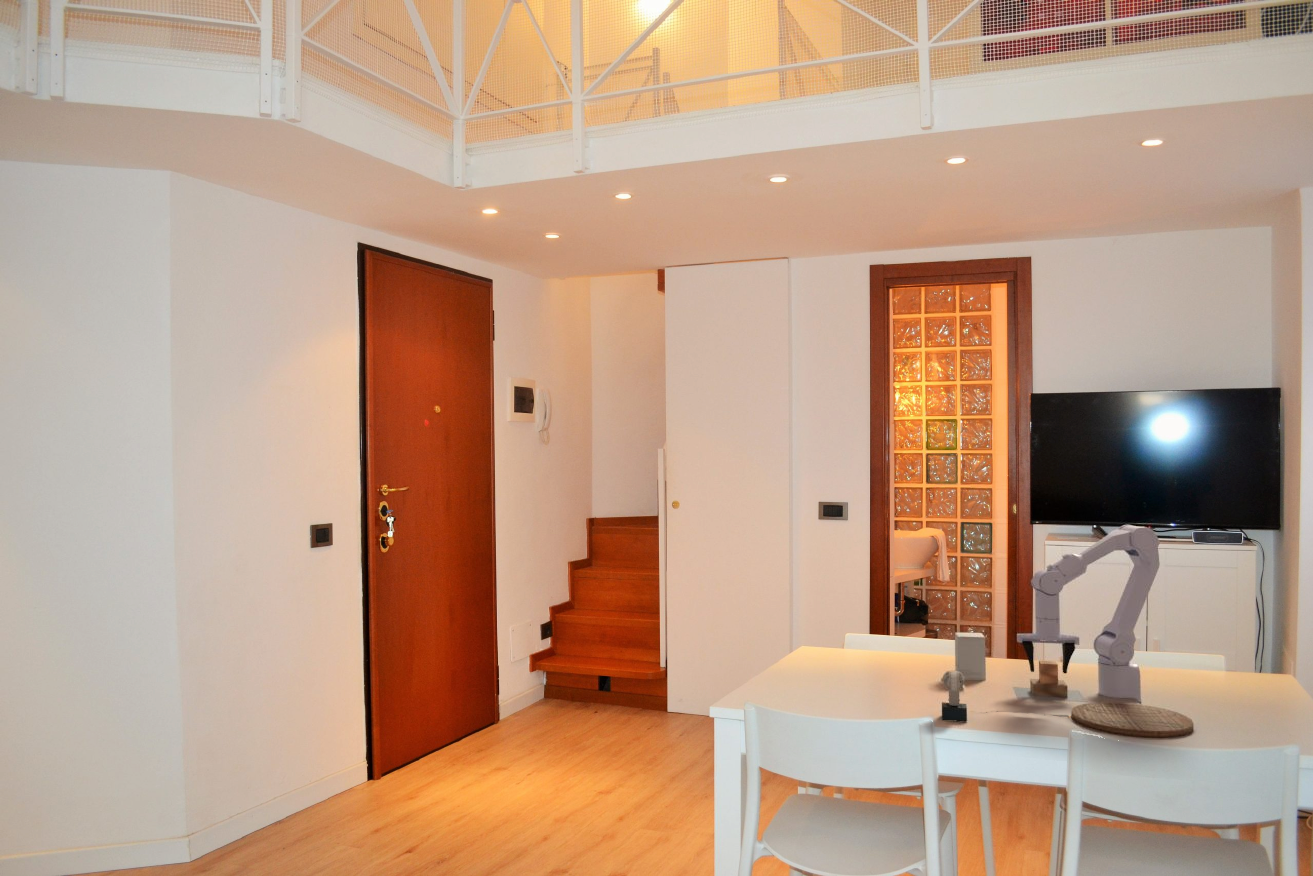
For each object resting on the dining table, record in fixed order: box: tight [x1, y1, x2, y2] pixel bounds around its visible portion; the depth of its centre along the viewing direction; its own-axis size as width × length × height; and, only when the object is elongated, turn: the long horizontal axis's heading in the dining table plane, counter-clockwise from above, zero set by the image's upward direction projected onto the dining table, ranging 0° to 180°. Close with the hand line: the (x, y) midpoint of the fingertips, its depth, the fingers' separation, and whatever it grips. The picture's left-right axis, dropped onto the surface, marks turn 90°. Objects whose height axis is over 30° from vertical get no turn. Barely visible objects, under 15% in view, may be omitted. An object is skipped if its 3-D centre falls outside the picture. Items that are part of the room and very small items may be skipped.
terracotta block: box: [1038, 660, 1059, 684], centre depth 243 cm, size 4×4×5 cm
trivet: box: [1071, 701, 1194, 739], centre depth 220 cm, size 25×25×2 cm
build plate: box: [1012, 686, 1088, 703], centre depth 243 cm, size 16×12×1 cm
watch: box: [940, 670, 968, 722], centre depth 224 cm, size 6×8×11 cm
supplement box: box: [954, 632, 987, 681], centre depth 263 cm, size 7×7×13 cm
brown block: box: [1029, 678, 1068, 698], centre depth 243 cm, size 8×6×3 cm
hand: (1048, 671), depth 243 cm, fingers open, 7 cm apart
